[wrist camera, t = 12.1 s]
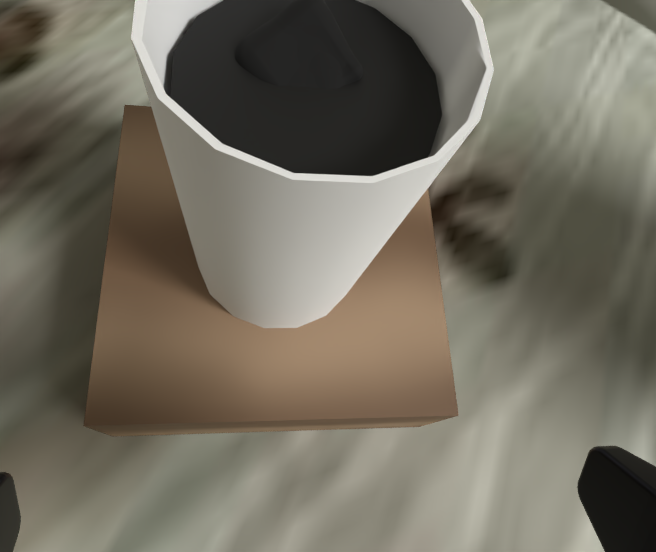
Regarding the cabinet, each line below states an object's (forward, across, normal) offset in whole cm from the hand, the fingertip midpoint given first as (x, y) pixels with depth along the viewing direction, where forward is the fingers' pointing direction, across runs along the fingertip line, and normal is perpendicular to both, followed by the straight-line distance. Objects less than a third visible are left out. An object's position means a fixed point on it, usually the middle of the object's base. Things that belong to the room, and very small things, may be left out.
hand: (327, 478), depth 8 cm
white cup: (+12, 0, +1) cm, 12 cm away
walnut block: (+14, 0, +3) cm, 15 cm away
